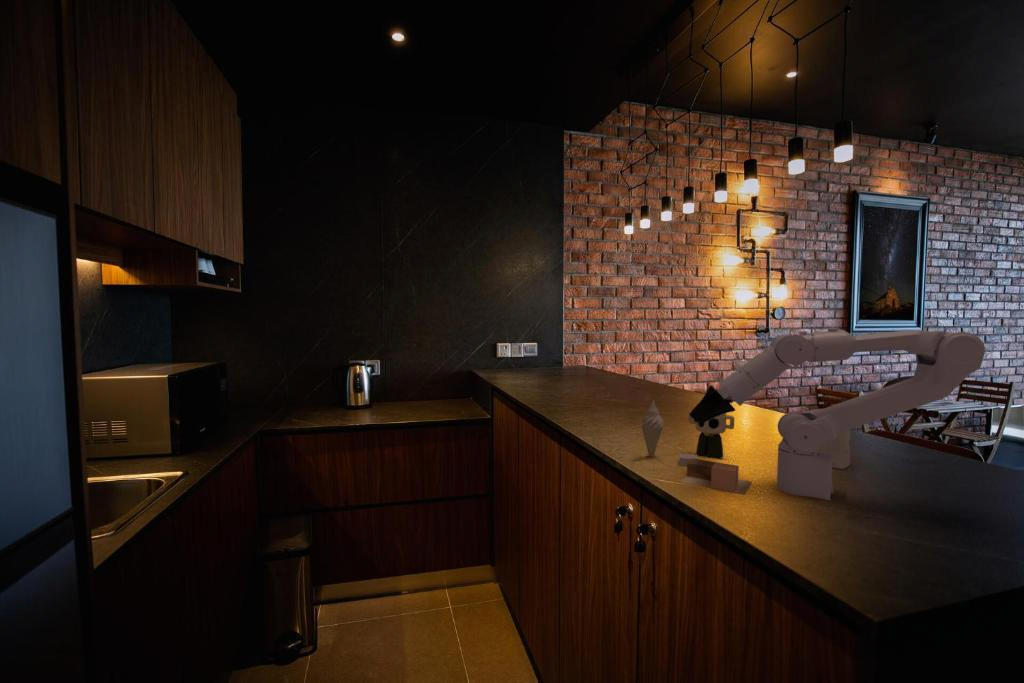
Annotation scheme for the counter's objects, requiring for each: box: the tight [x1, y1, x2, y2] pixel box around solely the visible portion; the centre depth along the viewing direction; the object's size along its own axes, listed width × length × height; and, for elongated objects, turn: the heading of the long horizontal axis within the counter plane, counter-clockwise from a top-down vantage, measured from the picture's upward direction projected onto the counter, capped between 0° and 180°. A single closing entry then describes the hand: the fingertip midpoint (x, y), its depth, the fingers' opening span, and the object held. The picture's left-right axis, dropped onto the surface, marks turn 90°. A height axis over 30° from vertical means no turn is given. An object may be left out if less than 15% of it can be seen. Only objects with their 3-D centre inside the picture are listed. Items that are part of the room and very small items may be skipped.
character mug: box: [687, 404, 735, 460], centre depth 120 cm, size 11×7×13 cm, turn 52°
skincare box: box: [823, 429, 851, 470], centre depth 115 cm, size 6×4×12 cm
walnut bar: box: [686, 458, 717, 481], centre depth 102 cm, size 7×4×3 cm, turn 55°
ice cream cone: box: [641, 399, 664, 458], centre depth 117 cm, size 5×5×15 cm
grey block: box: [678, 453, 699, 468], centre depth 111 cm, size 4×4×3 cm
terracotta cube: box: [710, 461, 740, 494], centre depth 96 cm, size 4×4×4 cm
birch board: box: [680, 475, 753, 496], centre depth 99 cm, size 12×9×1 cm
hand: (695, 418), depth 101 cm, fingers open, 7 cm apart
